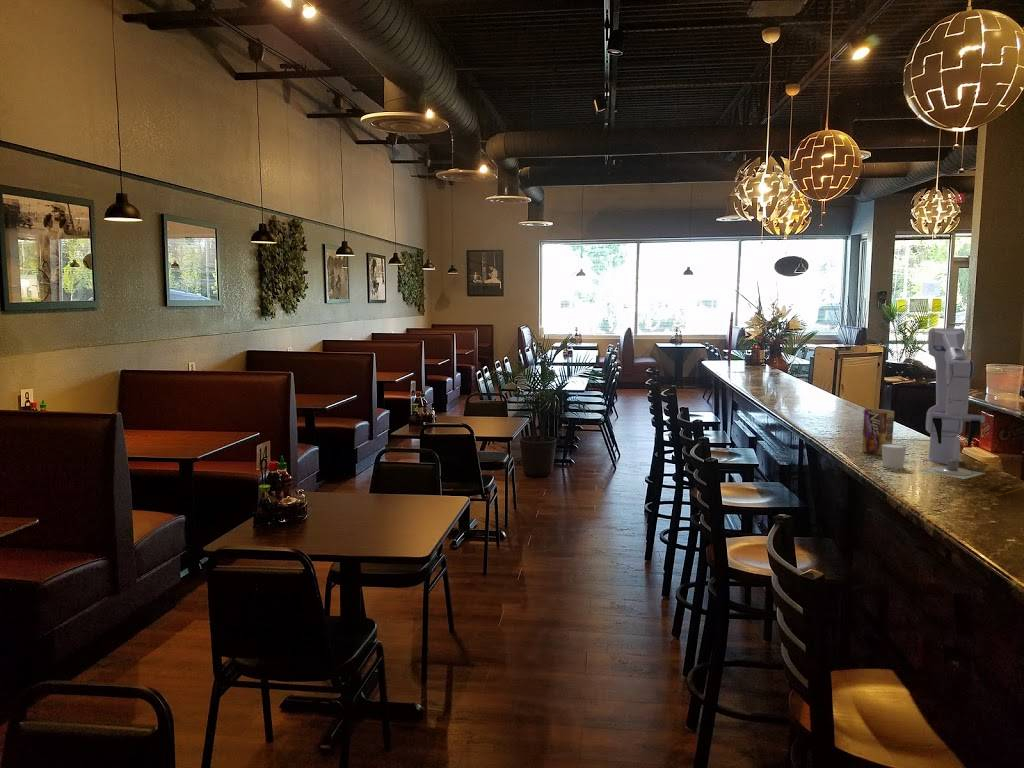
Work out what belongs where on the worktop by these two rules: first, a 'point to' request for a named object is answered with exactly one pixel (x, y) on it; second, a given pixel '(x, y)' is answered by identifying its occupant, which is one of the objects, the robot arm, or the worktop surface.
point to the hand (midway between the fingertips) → (954, 444)
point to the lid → (952, 469)
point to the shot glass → (893, 455)
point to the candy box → (877, 429)
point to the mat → (953, 475)
